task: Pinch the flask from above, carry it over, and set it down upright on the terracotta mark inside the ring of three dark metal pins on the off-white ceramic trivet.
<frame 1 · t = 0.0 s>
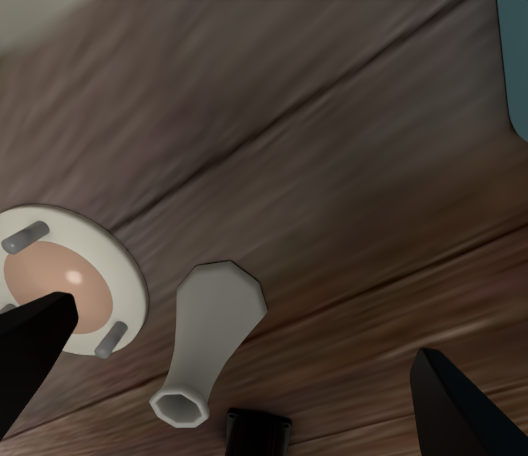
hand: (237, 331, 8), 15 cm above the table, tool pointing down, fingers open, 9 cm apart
flask: (223, 295, 27), on the table
pin cradle: (66, 283, 29), on the table
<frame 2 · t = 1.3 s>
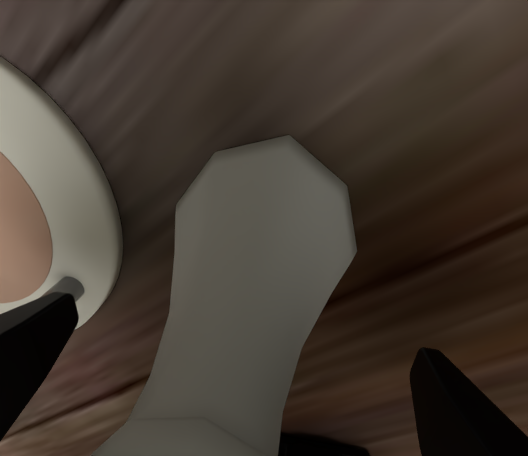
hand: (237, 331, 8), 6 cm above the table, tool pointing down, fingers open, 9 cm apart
flask: (267, 222, 14), on the table
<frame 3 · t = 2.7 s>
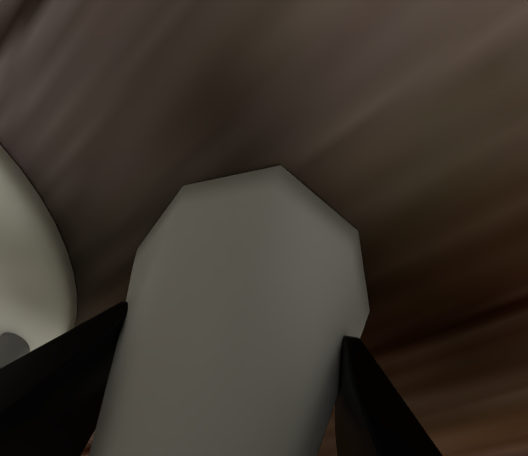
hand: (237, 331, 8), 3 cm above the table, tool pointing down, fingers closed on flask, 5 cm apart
flask: (254, 271, 11), on the table, touching gripper
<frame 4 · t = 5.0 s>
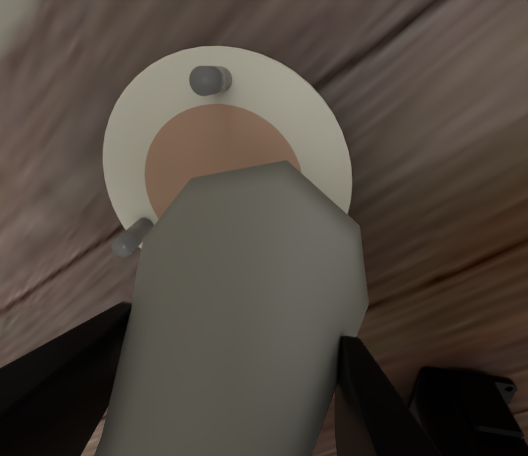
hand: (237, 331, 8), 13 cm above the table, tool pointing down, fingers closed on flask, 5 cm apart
flask: (257, 263, 11), point 10 cm above the table, touching gripper
pin cradle: (226, 184, 20), on the table
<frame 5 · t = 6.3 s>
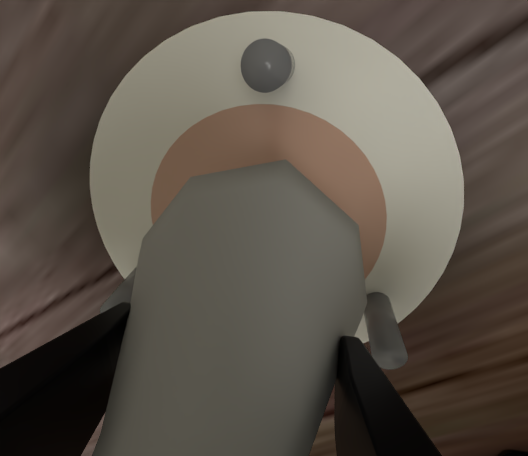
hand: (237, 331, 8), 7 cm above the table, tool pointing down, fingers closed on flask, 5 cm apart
flask: (256, 262, 11), point 4 cm above the table, touching gripper
pin cradle: (266, 217, 14), on the table
when the fingers open (5 cm above the table, at t = 7.5 s): flask stays where it is, resting on pin cradle.
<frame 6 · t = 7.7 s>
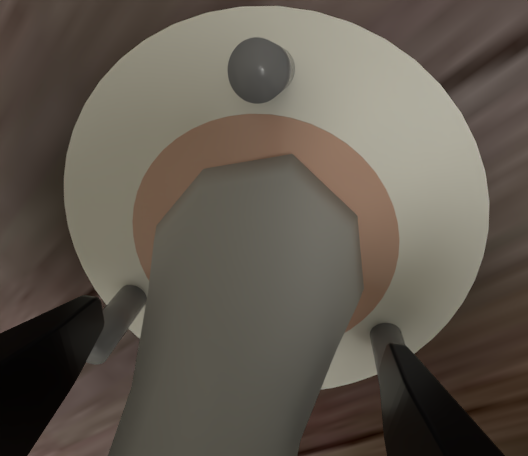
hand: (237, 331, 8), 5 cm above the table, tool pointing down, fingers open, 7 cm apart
flask: (262, 250, 12), point 1 cm above the table, touching pin cradle
pin cradle: (263, 238, 13), on the table
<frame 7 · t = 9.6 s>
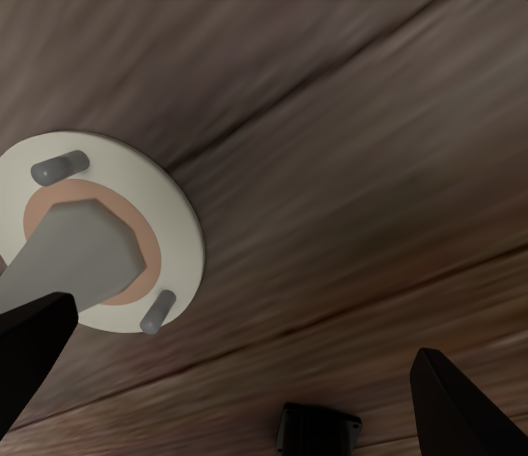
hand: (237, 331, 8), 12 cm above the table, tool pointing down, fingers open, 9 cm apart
flask: (94, 246, 22), point 1 cm above the table, touching pin cradle
pin cradle: (101, 240, 23), on the table
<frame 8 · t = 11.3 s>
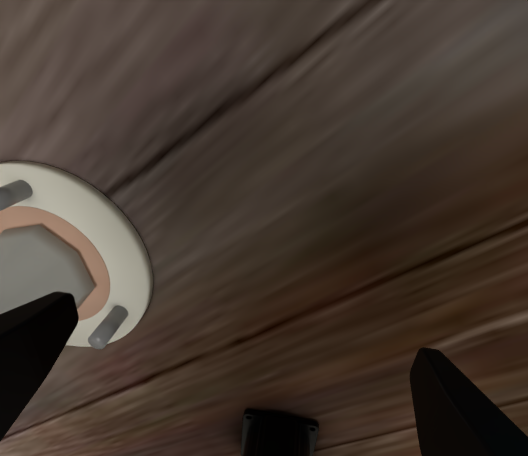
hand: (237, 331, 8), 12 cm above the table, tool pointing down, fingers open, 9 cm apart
flask: (47, 267, 23), point 1 cm above the table, touching pin cradle
pin cradle: (55, 260, 24), on the table
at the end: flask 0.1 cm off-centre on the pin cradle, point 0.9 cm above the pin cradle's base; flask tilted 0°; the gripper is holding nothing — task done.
